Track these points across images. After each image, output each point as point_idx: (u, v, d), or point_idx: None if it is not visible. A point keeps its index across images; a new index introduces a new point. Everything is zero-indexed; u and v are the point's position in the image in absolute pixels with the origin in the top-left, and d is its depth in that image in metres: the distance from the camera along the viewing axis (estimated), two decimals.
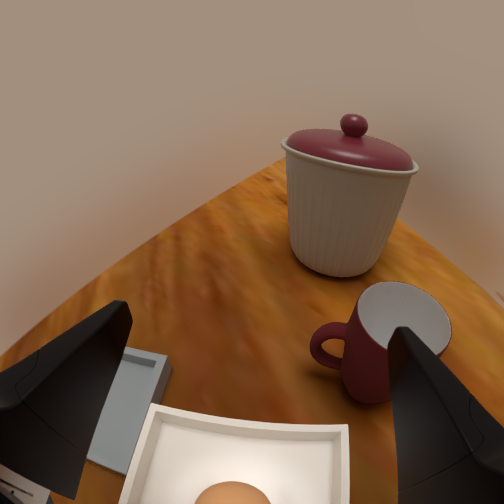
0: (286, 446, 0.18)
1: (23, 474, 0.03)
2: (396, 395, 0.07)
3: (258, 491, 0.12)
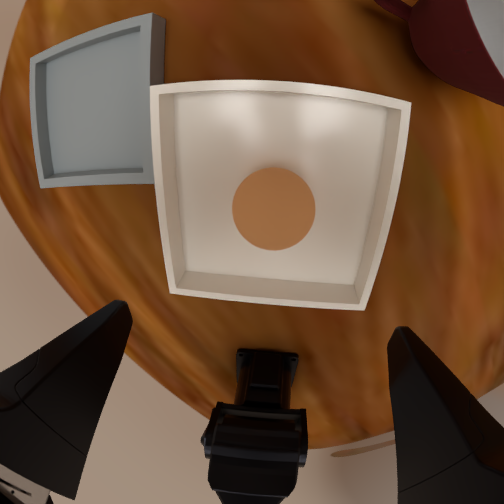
0: (331, 106, 0.15)
1: (23, 474, 0.03)
2: (396, 395, 0.07)
3: (300, 187, 0.15)
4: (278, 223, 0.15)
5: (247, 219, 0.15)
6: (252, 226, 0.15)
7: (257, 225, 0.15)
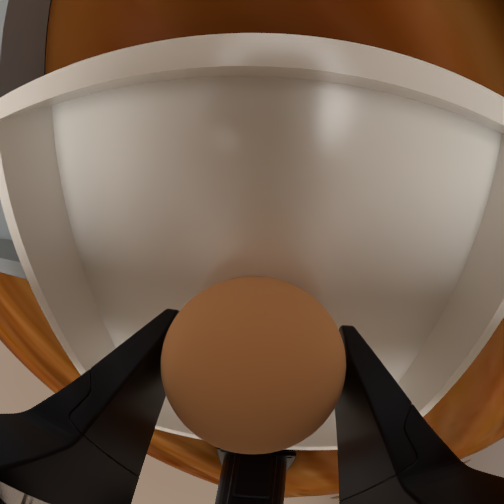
0: (400, 118, 0.06)
1: None
2: None
3: (317, 362, 0.05)
4: (256, 447, 0.05)
5: (187, 424, 0.06)
6: (199, 436, 0.06)
7: (209, 440, 0.05)
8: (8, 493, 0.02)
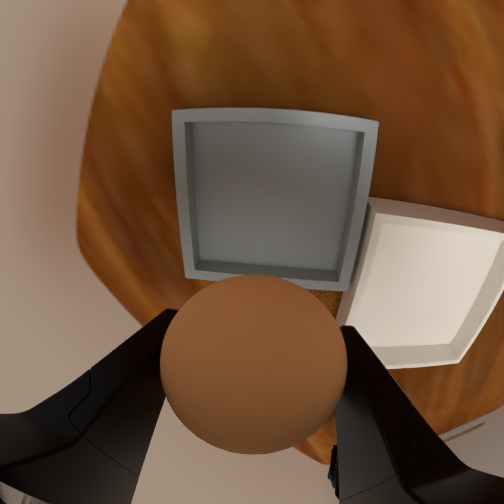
0: None
1: None
2: None
3: (318, 361, 0.05)
4: (256, 447, 0.05)
5: (186, 423, 0.05)
6: (199, 436, 0.05)
7: (209, 440, 0.05)
8: (8, 493, 0.02)
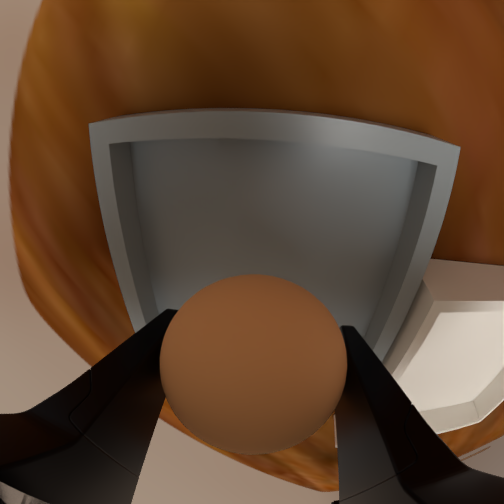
0: None
1: None
2: None
3: (318, 360, 0.05)
4: (256, 447, 0.05)
5: (186, 423, 0.05)
6: (199, 436, 0.05)
7: (208, 440, 0.05)
8: (8, 493, 0.02)
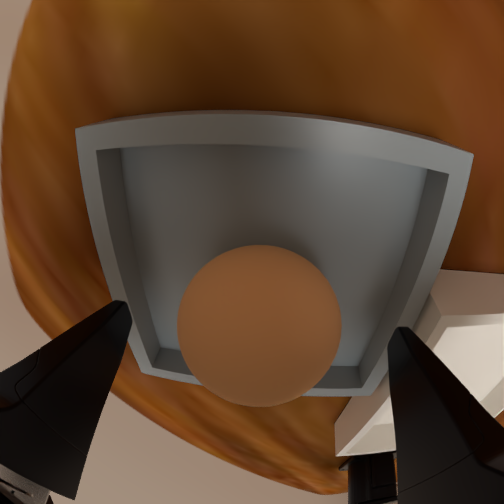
0: None
1: (23, 474, 0.03)
2: (396, 395, 0.07)
3: (315, 310, 0.07)
4: (264, 392, 0.06)
5: (201, 374, 0.07)
6: (212, 387, 0.07)
7: (221, 389, 0.07)
8: None
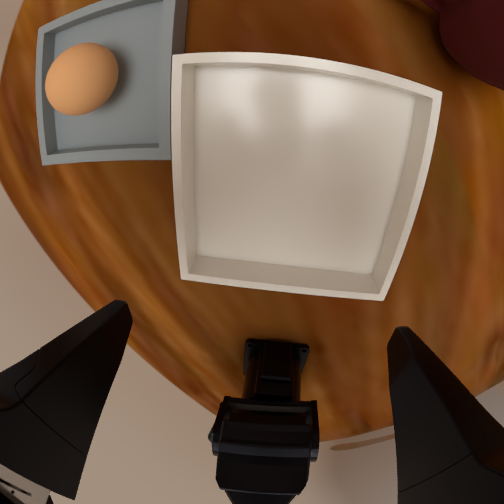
0: (361, 89, 0.14)
1: (23, 474, 0.03)
2: (396, 395, 0.07)
3: (89, 47, 0.11)
4: (60, 77, 0.10)
5: (46, 83, 0.11)
6: (47, 87, 0.11)
7: (49, 84, 0.10)
8: None
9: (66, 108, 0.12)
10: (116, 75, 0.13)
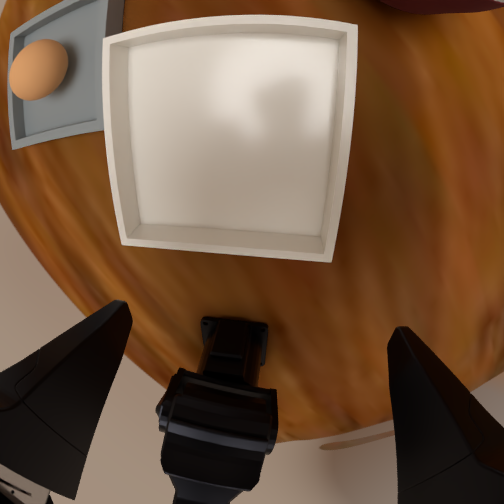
0: (278, 41, 0.13)
1: (23, 474, 0.03)
2: (396, 395, 0.07)
3: (42, 42, 0.10)
4: (18, 67, 0.10)
5: (9, 75, 0.10)
6: (10, 78, 0.10)
7: (10, 75, 0.10)
8: None
9: (23, 93, 0.12)
10: (64, 63, 0.13)
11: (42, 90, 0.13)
